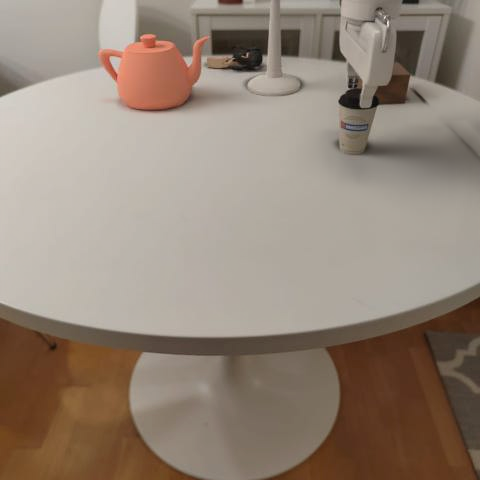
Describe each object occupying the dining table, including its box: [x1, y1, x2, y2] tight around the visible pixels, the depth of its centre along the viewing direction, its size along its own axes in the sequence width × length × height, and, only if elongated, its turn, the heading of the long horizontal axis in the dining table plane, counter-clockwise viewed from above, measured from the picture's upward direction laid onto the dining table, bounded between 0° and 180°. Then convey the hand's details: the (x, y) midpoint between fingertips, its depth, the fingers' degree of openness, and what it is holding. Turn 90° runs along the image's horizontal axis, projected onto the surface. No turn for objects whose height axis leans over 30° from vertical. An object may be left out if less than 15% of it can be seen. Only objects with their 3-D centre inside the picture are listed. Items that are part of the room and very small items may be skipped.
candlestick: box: [247, 0, 301, 97], centre depth 101 cm, size 13×13×30 cm
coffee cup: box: [337, 88, 380, 155], centre depth 81 cm, size 7×7×10 cm
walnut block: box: [357, 61, 412, 105], centre depth 102 cm, size 9×9×6 cm
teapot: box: [98, 33, 211, 111], centre depth 102 cm, size 25×17×13 cm
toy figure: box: [206, 44, 264, 72], centre depth 121 cm, size 7×6×15 cm
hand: (357, 96), depth 78 cm, fingers open, 8 cm apart
